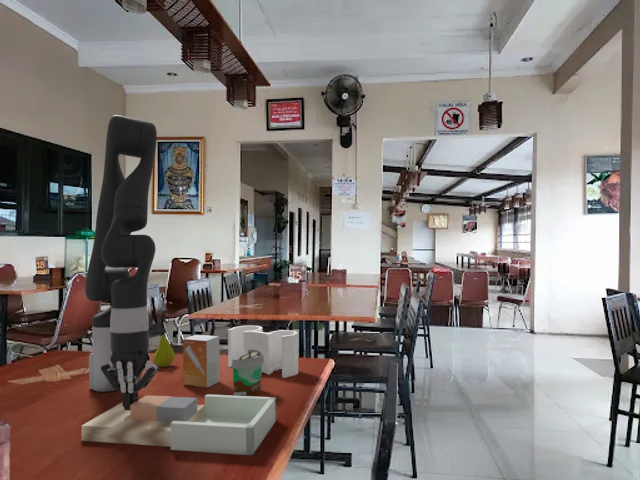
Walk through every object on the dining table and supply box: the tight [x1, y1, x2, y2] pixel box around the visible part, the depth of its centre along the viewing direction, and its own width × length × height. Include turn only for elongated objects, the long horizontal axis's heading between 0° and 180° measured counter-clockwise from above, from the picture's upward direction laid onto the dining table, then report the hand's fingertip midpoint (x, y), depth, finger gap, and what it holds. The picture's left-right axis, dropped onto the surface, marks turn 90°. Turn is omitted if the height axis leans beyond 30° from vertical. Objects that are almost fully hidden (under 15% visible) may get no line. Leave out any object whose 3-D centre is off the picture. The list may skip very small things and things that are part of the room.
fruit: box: [153, 330, 176, 368], centre depth 143 cm, size 6×6×12 cm
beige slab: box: [80, 402, 205, 448], centre depth 94 cm, size 20×14×3 cm
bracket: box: [227, 325, 299, 379], centre depth 139 cm, size 25×10×12 cm, turn 54°
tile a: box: [130, 394, 173, 421], centre depth 94 cm, size 6×6×3 cm
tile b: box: [157, 396, 198, 422], centre depth 92 cm, size 6×6×3 cm
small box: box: [182, 334, 221, 389], centre depth 124 cm, size 8×6×13 cm
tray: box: [170, 394, 277, 456], centre depth 90 cm, size 16×16×5 cm
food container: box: [231, 349, 264, 397], centre depth 116 cm, size 12×6×10 cm, turn 168°
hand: (130, 409), depth 94 cm, fingers closed
